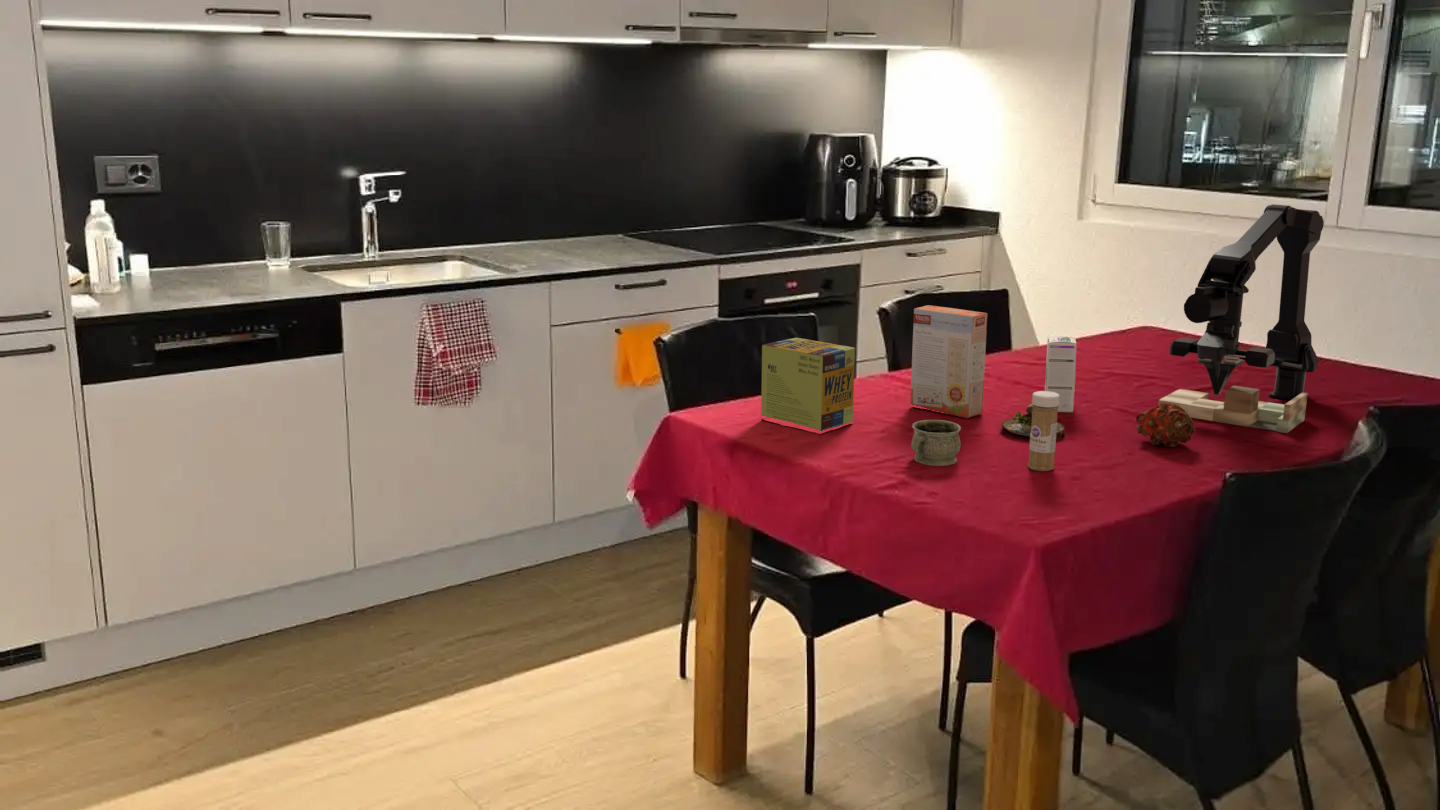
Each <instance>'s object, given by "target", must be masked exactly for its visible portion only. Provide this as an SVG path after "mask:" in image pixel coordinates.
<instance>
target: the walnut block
mask: <svg viewBox="0 0 1440 810" xmlns="http://www.w3.org/2000/svg"><path fill="white" fill-rule="evenodd" d="M1260 392H1261V391H1260V389H1259V388H1254V387H1253V388H1252V387H1245V386H1240V385H1239V386H1238V385H1232V386H1231V387H1229V388H1226V389H1225V393H1224V401H1223V402H1224V409H1223V410H1226V411H1232V412H1239V413H1245V414H1251V413H1252V412H1254V411H1255V410H1257V409H1258V401H1260Z"/></svg>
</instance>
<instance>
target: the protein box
mask: <svg viewBox="0 0 1440 810" xmlns="http://www.w3.org/2000/svg"><path fill="white" fill-rule="evenodd" d="M761 346H762V347H761V393H760V394H761V400H760V401H761V404H760V405H761V406H760V409H761V410H760V411H761V412H760V417H761V416H766V417H770V418H774V419H778V420H782V421H787V422H791V423H794V424H798V425H802V426H805V427H809V428H813V429H816V430H819V431H823V430H826V429H830V428H833V427H837V426H840V425H843V424H846V423H849V422H851V421H853V422H854V389H855V356H856V355H855V352H856V348H855V347H853V346H847V345H840V344H835V343H829V342H824V341H817V340H813V339H812V340H811V339H807V338H800V337H793V338H788V339H782V340H778V341H773V342H770V343H765V344H762V345H761Z"/></svg>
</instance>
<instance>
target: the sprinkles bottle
mask: <svg viewBox="0 0 1440 810" xmlns="http://www.w3.org/2000/svg"><path fill="white" fill-rule="evenodd" d="M1059 400H1060V396H1059V394H1057V393H1055V392H1050V391H1045V390H1038V391H1034V392H1032V398H1031V404H1033V405H1032V406H1033V411H1032V423H1031V433H1030V437H1029V446H1028V447H1029V454H1028V455H1029V456H1028V463H1027V466H1028V469H1031V470H1033V471H1035V472H1036V471H1037V472H1050V471H1052V470H1054V469H1055V452H1056V445H1057V444H1056V443H1057V440H1056V431H1057V422H1058V413H1059V412H1058V407H1059Z"/></svg>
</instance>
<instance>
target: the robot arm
mask: <svg viewBox="0 0 1440 810" xmlns="http://www.w3.org/2000/svg"><path fill="white" fill-rule="evenodd" d="M1324 224H1325V223H1324V218H1323V216H1322V215H1321V214H1320V212H1319V211H1318V210H1312V209H1310V210H1309V209H1301V208H1300V209H1298V208H1296V207H1294V206H1293V207H1292V206H1291V205H1284V204H1275V203H1274V204H1273V203H1272V204H1269V205H1267V206H1266V207H1265V208H1264V210H1263V214H1261V216H1260V217H1259V218H1258V219H1257V220H1256V221H1255V222H1254V223H1253V224H1252V225H1251V226H1250V227H1249V228H1248V230H1247V231H1246V232H1244V233H1243V235H1242V236H1241V237H1240V238H1239V239H1238V240H1237V241H1236V242H1234V243H1232V244H1229V245H1226V246H1222V247H1221V248H1220V249H1218V250H1217V252H1215V253H1213V254H1212V256H1211V257H1210V258H1209V261H1208V263H1207V265H1206V267H1205V269H1204V271H1203V273H1202V275H1201V276H1200V279H1199V281H1198V283H1197V287H1195V289H1194V293H1193V294H1190V295H1189V296H1188V297H1187V299H1186V300H1185V302H1184V303H1183V312H1184V315H1185V317H1186V318H1187V319H1188V320H1189V321H1190V322H1192V323H1195V324H1202V323H1206V322H1207V323H1206V324H1207V325H1206V328H1205V329H1206V330H1205V331H1204V334H1203V335H1202V336H1201V337H1200V339H1197V338H1190V337H1179V338H1176V339H1175V340H1173V341H1172V342H1170V345H1169V355H1170V356H1175V357H1182V358H1183V357H1186V356H1187V355H1188V354H1190V353H1191V354H1197V358H1198V360H1197V362H1198V363H1199V364H1202V365H1203V366H1204V367H1205V369H1206V371H1207V374H1208V376H1209V379H1210V384H1211V387H1212V390H1213V393H1214V396H1215V395H1216V396H1220V395H1221V393H1222V392H1223V389H1224V387H1225V385H1226V384H1227V382H1228V380H1229V379H1230V376H1231V374H1232V373H1233V371H1234V370H1235V368H1237V367H1239V366H1241V365H1242V364H1243V365H1244V362H1245V364H1246V365H1247V366H1248V367H1249V366H1250V367H1256V368H1268V367H1275V368H1276V373H1275V380H1274V381H1275V383H1274V389H1273V391H1271V392H1269V393H1268V397H1272V398H1278V399H1279V398H1280V399H1287V400H1292V399H1293V398H1295V397H1296V396H1298V395H1299V394H1301V393H1306V391H1305V384H1306V383H1305V382H1306V377H1307V376H1306V374H1307V373H1315V371H1316V370H1317V368H1318V364H1319V361H1320V360H1319V358H1318V355H1317V353H1316V351H1315V350H1314V347H1313V345H1312V333H1311V331H1310V329H1309V327H1308V325H1307V324H1306V322H1305V316H1306V303H1307V302H1306V301H1307V293H1308V292H1307V291H1308V281H1309V269H1310V258H1311V252H1312V251H1313V249H1314V248H1315V247H1316V245H1318V243H1319V242H1320V240H1321V235H1322V231H1323V230H1324ZM1275 239H1276V241H1277V242H1278V244H1279V246H1280V248H1281V250H1282V252H1283V263H1282V271H1281V272H1282V275H1281V286H1280V287H1281V288H1280V298H1279V299H1280V300H1279V311H1278V313H1279V314H1278V321H1277V323H1276V324H1275V325H1274V326H1273V328H1272V329H1268V331H1267V333H1266V336H1267V338H1266V343H1265V347H1258V346H1253V347H1251V348H1248V350H1246V349H1239V348H1240V341H1239V339H1240V329H1241V328H1242V324H1243V323H1242V320H1241V319H1242V311H1243V310H1242V309H1243V300H1244V294H1248V293H1249V292H1250V290H1249V287H1247V286H1246V283H1248V281H1249V280H1250V278H1252V275H1253V274H1254V273H1255V272H1256V269H1257V264H1256V263H1257V262H1256V261H1257V259H1259V257H1260V255H1262V254H1263V253H1264V251H1265V250H1266V249H1268V247H1269V246H1270V244H1272V243H1273V242H1274V240H1275ZM1223 360H1224V361H1223ZM1304 391H1305V392H1304ZM1307 397H1309V393H1308V394H1307Z"/></svg>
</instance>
